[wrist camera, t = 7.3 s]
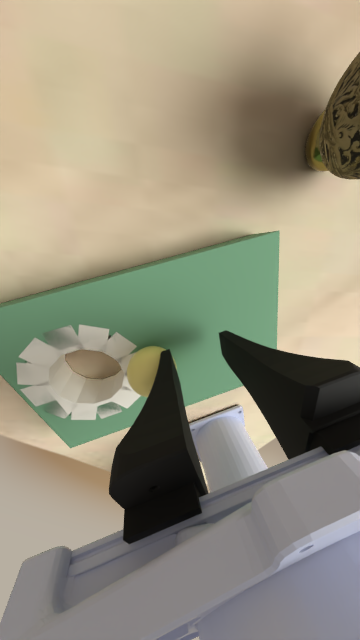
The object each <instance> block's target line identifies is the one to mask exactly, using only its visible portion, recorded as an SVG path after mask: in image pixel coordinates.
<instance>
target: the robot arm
mask: <svg viewBox="0 0 360 640" xmlns="http://www.w3.org/2000/svg"><path fill="white" fill-rule="evenodd" d="M219 339H220V346H221V352H222V355H223V357H224V359H225V361H226V362H227V364H228V366H229V367H230V368H231V370H232V371H233V372H234V374H235V375H236V376H237V377H238V379H239V380H240V381H241V383H242V384H243V385H244V386H245V388H246V389H247V390H248V392H249V393H250V395H251V396H252V398H253V399H254V401H255V402H256V404H257V406H258V407H259V409H260V410H261V412H262V414H263V415H264V417H265V419H266V420H267V422H268V424H269V425H270V427H271V429H272V431H273V432H274V434H275V436H276V438H277V439H278V441H279V443H280V445H281V447H282V448H283V450H284V452H285V454H286V455H287V457H288V459H289V460H287V461H285V462H282V463H280V464H278V465H275V466H273V467H270V468H267V466H266V464H265V462H264V461H263V459H262V457H261V455H260V454H259V452H258V450H257V448H256V447H255V445H254V443H253V441H252V440H251V438H250V436H249V434H248V433H247V431H246V429H245V423H244V414H243V407H242V406H241V405H238V406H235V407H232V408H230V409H227V410H224V411H222V412H219V413H216V414H213V415H211V416H208V417H205V418H203V419H200V420H197V421H195V422H192V423H190V424H189V423H188V420H187V415H186V411H185V405H184V400H183V395H182V389H181V384H180V380H179V377H178V373H177V370H176V367H175V364H174V361H173V358H172V355H171V352H170V349H168V350H165V351H162V352H161V354H160V361H159V366H158V370H157V374H156V377H155V380H154V383H153V386H152V388H151V391H150V393H149V396H148V398H147V400H146V402H145V404H144V406H143V408H142V410H141V412H140V413H139V415H138V417H137V418H136V420H135V422H134V423H133V425H132V426H131V428H130V430H129V431H128V432H127V434H126V435H125V437H124V438H123V439H122V441H121V442H120V444H119V445H118V446H117V448H116V451H115V455H114V459H113V464H112V470H111V477H110V485H109V494H110V495H111V497H112V498H113V499H114V500H115V501H116V502H117V503H118V504H119V505H120V506H121V507H122V508H124V509H125V513H124V529H123V530H121V531H118V532H116V533H114V534H111V535H109V536H106V537H104V538H102V539H100V540H97V541H95V542H92V543H90V544H87V545H85V546H83V547H80V548H78V549H76V550H73V551H71V549H69V548H68V547H65V546H60V547H55V548H52V549H49V550H47V551H45V552H42V553H40V554H37V555H35V556H33V557H30V558H28V559H26V560H25V561H24V562H23V563H22V566H21V568H20V571H19V574H18V577H17V579H16V582H15V585H14V587H13V590H12V593H11V595H10V598H9V601H8V604H7V606H6V609H5V612H4V615H3V617H2V620H1V623H0V640H192V639H194V638H196V637H198V636H199V639H200V640H360V367H358V366H356V365H355V364H353V363H351V362H349V361H345V360H334V359H323V358H316V357H309V356H303V355H298V354H293V353H288V352H284V351H280V350H276V349H273V348H269V347H266V346H263V345H260V344H258V343H255V342H252V341H250V340H247V339H245V338H243V337H241V336H238V335H236V334H234V333H232V332H229V331H227V330H226V331H222V332H219ZM196 451H197V452H196ZM197 454H198V455H197ZM198 457H199V459H198ZM199 460H200V461H201V462H202V465H203V468H204V472H205V475H206V479H207V482H208V486H209V490H210V493H209V494H208V490H207V487H206V483H205V480H204V476H203V473H202V469H201V466H200V462H199Z"/></svg>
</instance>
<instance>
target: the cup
mask: <svg viewBox="0 0 360 640" xmlns="http://www.w3.org/2000/svg"><path fill="white" fill-rule="evenodd" d="M305 152H306V159H307V162H308V164H309V166H310V167H311V168H312V169H314V170H316V171H330V172H331V173H332V174H334V175H335V176H338V177H340V178H345V179H360V52H359V54H358V55H357V56H356V57H355V59H354V60H353V61H352V62H351V64H350V65H349V67H348V68H347V70H346V71H345V73H344V74H343V76H342V77H341V79H340V81H339V82H338V84H337V86H336V88H335V90H334V92H333V93H332V95H331V98H330V100H329V102H328V104H327V107H326V109H325V110H324V111H323V112H322V114H321V115H320V116H319V117H318V119H317V120H316V122H315V123H314V125H313V126H312V128H311V130H310V132H309V135H308V138H307V142H306V150H305Z"/></svg>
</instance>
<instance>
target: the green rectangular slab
mask: <svg viewBox="0 0 360 640" xmlns="http://www.w3.org/2000/svg"><path fill="white" fill-rule="evenodd" d="M278 271H279V231H274V232H267V233H259V234H253V235H249V236H246V237H242V238H238V239H235V240H231V241H227V242H224V243H220V244H216V245H213V246H209V247H205V248H202V249H198V250H194V251H191V252H187V253H183V254H180V255H176V256H173V257H169V258H165V259H162V260H158V261H154V262H151V263H147V264H143V265H140V266H136V267H132V268H129V269H125V270H121V271H118V272H114V273H110V274H107V275H103V276H99V277H96V278H92V279H89V280H85V281H81V282H78V283H74V284H70V285H67V286H63V287H59V288H56V289H52V290H48V291H45V292H41V293H37V294H34V295H30V296H26V297H23V298H19V299H15V300H12V301H8V302H4V303H1V304H0V375H1V376H2V377H3V378H4V379H5V380H6V381H7V382H8V383H9V384H10V385H11V386H12V387H13V388H14V390H15V391H16V392H17V393H18V394H19V395H20V396H21V397H22V398H23V399H24V400H25V401H26V402H27V403H28V404H29V405H30V406H31V407H32V408H33V409H34V410H35V412H36V413H37V414H38V415H39V416H40V417H41V418H42V419H43V420H44V421H45V422H46V423H47V424H48V425H49V426H50V427H51V428H52V429H53V430H54V431H55V433H56V434H57V435H58V436H59V437H60V438H61V439H62V440H63V441H64V442H65V443H66V444H67V445H68V446H69V447H70V448H72V447H75V446H78V445H81V444H84V443H86V442H89V441H92V440H95V439H97V438H100V437H103V436H106V435H108V434H111V433H114V432H117V431H119V430H122V429H125V428H128V427H130V426H132V425H133V423H134V422H135V420H136V418H137V417H138V415H139V413H140V412H141V410H142V408H143V406H144V404H145V402H146V400H147V398H148V397H144V396H141V395H139V394H137V393H136V392H135V391H134V390H133V389H132V388H131V386H130V384H129V382H128V379H127V367H128V364H129V361H130V360H131V358H132V357H133V355H134V354H135V353H136V352H137V351H139V350H140V349H142V348H145V347H148V346H158V347H161V348H164V349H166V350H168V349H170V352H171V355H172V356H173V358H174V360H175V362H176V366H177V373H178V377H179V380H180V384H181V389H182V395H183V400H184V405H185V407H186V406H188V405H191V404H194V403H197V402H200V401H202V400H205V399H208V398H211V397H213V396H216V395H219V394H222V393H224V392H227V391H230V390H233V389H235V388H238V387H241V386H244V385H243V384H242V383H241V381H240V380H239V379H238V377H237V376H236V375H235V374H234V372H233V371H232V370H231V368H230V367H229V366H228V364H227V362H226V361H225V359H224V357H223V355H222V352H221V346H220V339H219V332H222V331H226V330H227V331H229V332H232V333H234V334H236V335H238V336H241V337H243V338H245V339H247V340H250V341H252V342H255V343H258V344H260V345H263V346H266V347H269V348H273V349H276V350H277V312H278ZM80 349H83V350H92V351H101V352H103V353H105V354H107V355H108V356H110V357H112V358H113V359H115V360H117V361H118V363H119V365H120V367H121V368H122V369H121V370H120V371H119V372H118V373H117V374H116V375H114V376H111V377H108V378H105V379H90V378H85V377H83V376H81V375H79V374H77V373H75V372H73V370H72V369H71V368H70V366H69V365H68V363H67V362H66V360H65V356H66V354H67V353H71V352H74V351H77V350H80Z"/></svg>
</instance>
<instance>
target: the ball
mask: <svg viewBox="0 0 360 640" xmlns="http://www.w3.org/2000/svg"><path fill="white" fill-rule="evenodd" d="M165 350H166V349H164V348H161V347H158V346H148V347H145V348H142V349H140V350H139V351H137V352H136V353H135V354H134V355H133V357H132V358H131V360H130V361H129V364H128V367H127V379H128V382H129V384H130V386H131V388H132V389H133V390H134V391H135V392H136V393H137V394H139V395H141V396H144V397H148V396H149V393H150V391H151V388H152V386H153V383H154V380H155V377H156V374H157V370H158V366H159V361H160V354H161V352H162V351H165ZM172 358H173V356H172ZM173 361H174V364H175V367H176V370H177V366H176V362H175V360H174V358H173Z"/></svg>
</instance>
